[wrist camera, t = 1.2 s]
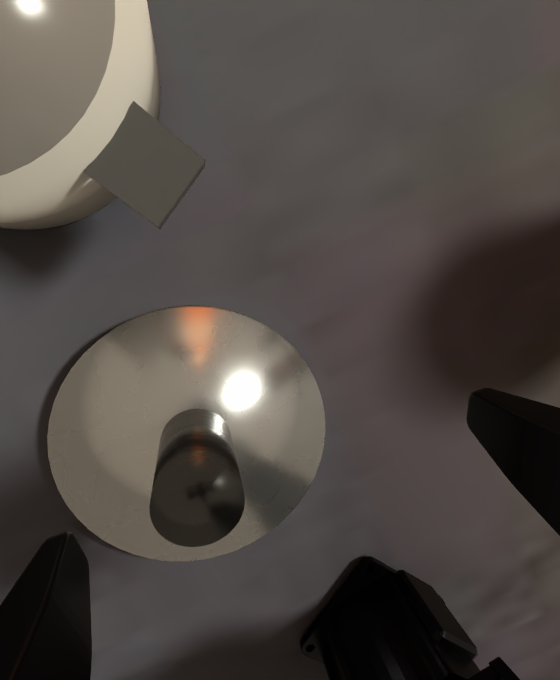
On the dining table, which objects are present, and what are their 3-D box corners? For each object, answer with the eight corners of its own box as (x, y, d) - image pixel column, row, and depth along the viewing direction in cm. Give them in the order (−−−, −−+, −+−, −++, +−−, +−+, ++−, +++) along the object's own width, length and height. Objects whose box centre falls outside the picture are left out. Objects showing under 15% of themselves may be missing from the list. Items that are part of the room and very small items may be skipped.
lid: (225, 583, 22) (237, 701, 16) (-3, 474, 18) (-93, 576, 12) (365, 396, 21) (430, 448, 16) (159, 247, 18) (145, 243, 12)
